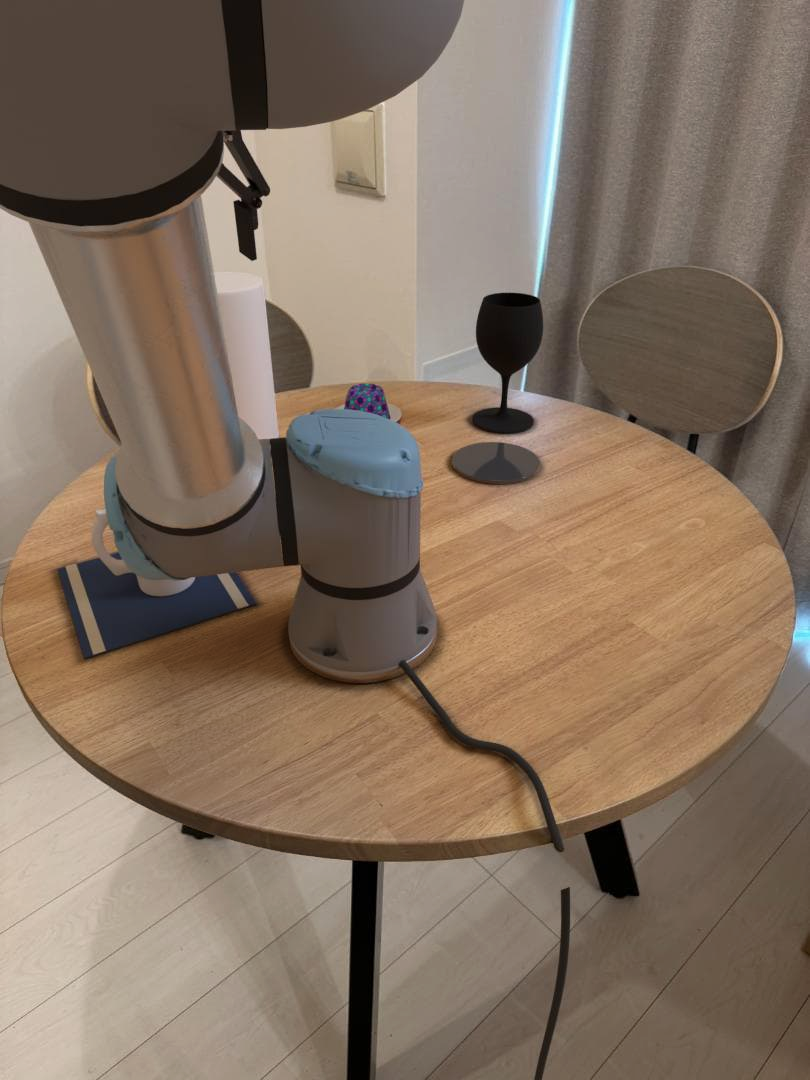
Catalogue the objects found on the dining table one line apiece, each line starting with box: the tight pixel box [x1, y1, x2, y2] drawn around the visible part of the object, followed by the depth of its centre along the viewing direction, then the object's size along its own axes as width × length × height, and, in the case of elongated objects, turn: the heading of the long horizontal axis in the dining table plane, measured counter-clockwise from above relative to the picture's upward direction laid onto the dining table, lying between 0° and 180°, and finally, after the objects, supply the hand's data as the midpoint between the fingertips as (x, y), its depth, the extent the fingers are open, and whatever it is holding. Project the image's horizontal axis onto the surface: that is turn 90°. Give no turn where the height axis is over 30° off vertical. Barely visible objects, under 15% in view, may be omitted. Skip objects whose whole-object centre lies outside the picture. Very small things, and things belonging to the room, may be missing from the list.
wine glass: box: [471, 292, 544, 435], centre depth 118 cm, size 10×10×20 cm
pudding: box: [334, 383, 403, 423], centre depth 123 cm, size 12×12×5 cm
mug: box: [91, 508, 195, 596], centre depth 80 cm, size 10×7×12 cm, turn 121°
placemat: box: [56, 552, 258, 660], centre depth 84 cm, size 18×18×1 cm
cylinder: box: [214, 271, 280, 440], centre depth 108 cm, size 12×12×25 cm
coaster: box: [451, 441, 541, 485], centre depth 110 cm, size 13×13×1 cm
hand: (201, 274), depth 90 cm, fingers open, 13 cm apart
